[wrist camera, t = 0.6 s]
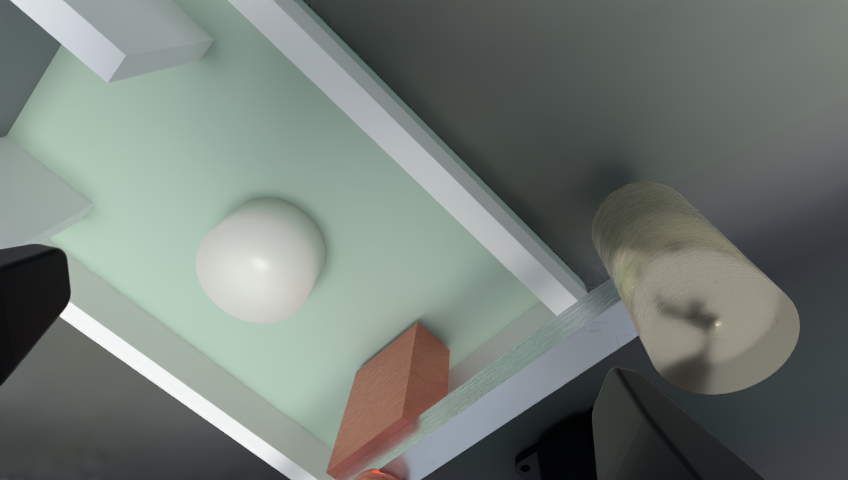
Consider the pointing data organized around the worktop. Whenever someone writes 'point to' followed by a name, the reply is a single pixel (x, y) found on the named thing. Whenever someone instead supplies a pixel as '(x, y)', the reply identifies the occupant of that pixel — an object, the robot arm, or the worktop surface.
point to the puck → (261, 260)
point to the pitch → (240, 182)
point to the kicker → (580, 340)
